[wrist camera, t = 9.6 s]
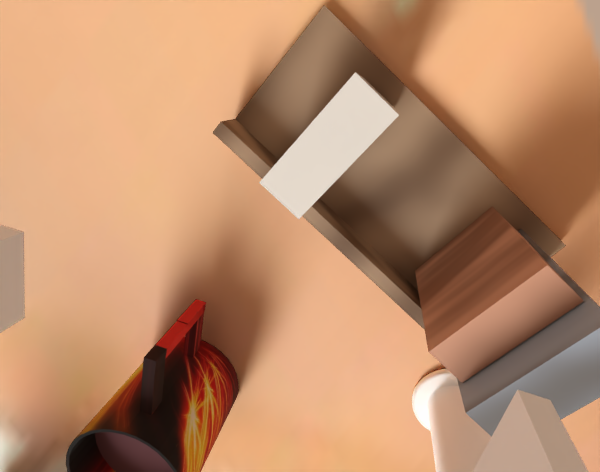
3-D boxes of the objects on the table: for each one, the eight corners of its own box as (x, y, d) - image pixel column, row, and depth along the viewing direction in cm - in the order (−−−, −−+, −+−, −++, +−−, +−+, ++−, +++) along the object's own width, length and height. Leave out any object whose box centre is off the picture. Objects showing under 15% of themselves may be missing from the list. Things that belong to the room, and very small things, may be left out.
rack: (232, 127, 33) (132, 151, 20) (326, 7, 29) (278, -61, 16) (445, 327, 35) (480, 467, 22) (560, 241, 31) (688, 349, 18)
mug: (209, 291, 38) (137, 373, 27) (250, 413, 42) (201, 529, 31) (121, 305, 41) (22, 385, 30) (167, 419, 45) (94, 528, 33)
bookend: (292, 158, 31) (259, 182, 23) (363, 77, 29) (355, 72, 20) (321, 185, 32) (298, 219, 23) (395, 108, 29) (399, 115, 21)
